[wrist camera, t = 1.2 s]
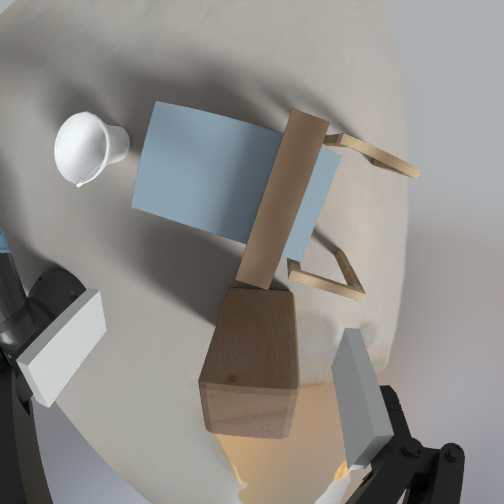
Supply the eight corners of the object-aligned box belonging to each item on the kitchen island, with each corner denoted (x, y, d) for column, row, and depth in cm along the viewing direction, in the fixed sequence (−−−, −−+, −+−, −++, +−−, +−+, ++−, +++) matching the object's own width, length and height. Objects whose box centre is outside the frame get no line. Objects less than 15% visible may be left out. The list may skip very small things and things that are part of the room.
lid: (146, 199, 31) (130, 206, 28) (170, 105, 27) (155, 100, 24) (297, 247, 32) (300, 262, 28) (333, 153, 28) (341, 155, 24)
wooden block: (227, 284, 44) (194, 381, 25) (294, 288, 43) (302, 389, 24) (228, 337, 47) (204, 435, 29) (288, 340, 47) (289, 442, 28)
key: (240, 263, 29) (235, 279, 25) (290, 113, 23) (292, 108, 20) (269, 273, 29) (267, 290, 26) (323, 124, 23) (330, 122, 20)
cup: (92, 173, 39) (51, 185, 30) (97, 114, 35) (55, 113, 26) (140, 178, 39) (103, 191, 29) (147, 114, 35) (110, 109, 26)
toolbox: (167, 201, 40) (127, 225, 28) (195, 97, 34) (161, 81, 23) (340, 258, 41) (361, 301, 29) (380, 160, 35) (420, 169, 24)
